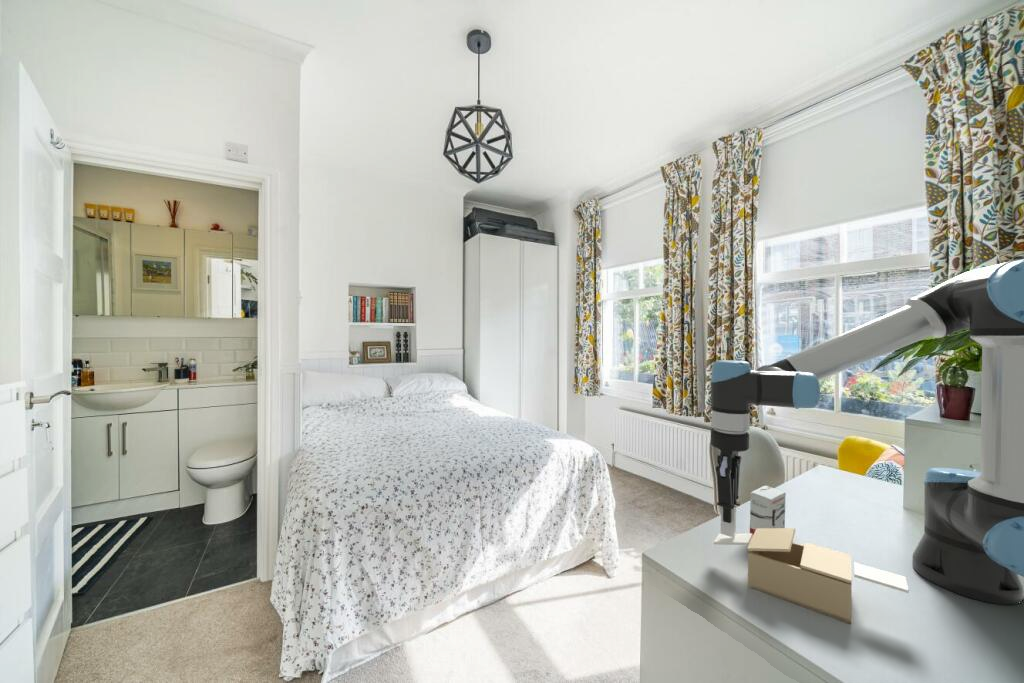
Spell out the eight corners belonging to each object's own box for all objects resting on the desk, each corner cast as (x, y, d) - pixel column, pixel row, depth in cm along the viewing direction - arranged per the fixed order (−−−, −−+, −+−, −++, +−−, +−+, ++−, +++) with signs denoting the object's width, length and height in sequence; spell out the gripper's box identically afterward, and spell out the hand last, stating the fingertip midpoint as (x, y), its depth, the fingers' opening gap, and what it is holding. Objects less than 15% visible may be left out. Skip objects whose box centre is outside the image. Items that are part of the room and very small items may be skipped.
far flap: (795, 530, 83) (794, 528, 84) (789, 551, 75) (789, 549, 76) (722, 530, 93) (722, 528, 93) (710, 549, 85) (710, 547, 85)
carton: (850, 592, 78) (851, 558, 78) (851, 624, 70) (851, 585, 69) (757, 562, 88) (757, 532, 88) (747, 586, 80) (748, 552, 80)
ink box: (770, 546, 95) (770, 498, 95) (748, 537, 99) (749, 491, 99) (785, 536, 100) (786, 490, 99) (764, 528, 104) (765, 484, 103)
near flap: (800, 567, 74) (800, 564, 74) (804, 544, 82) (804, 542, 82) (910, 601, 65) (910, 598, 65) (903, 572, 73) (903, 569, 73)
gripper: (718, 422, 94) (717, 518, 95) (703, 432, 84) (701, 540, 85) (754, 427, 89) (752, 528, 90) (742, 438, 79) (741, 553, 80)
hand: (728, 534), depth 87 cm, fingers closed
